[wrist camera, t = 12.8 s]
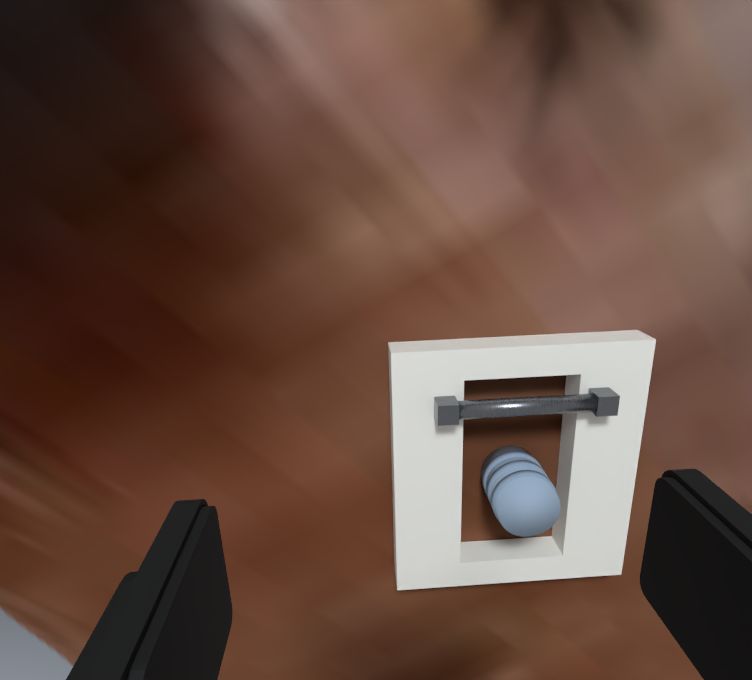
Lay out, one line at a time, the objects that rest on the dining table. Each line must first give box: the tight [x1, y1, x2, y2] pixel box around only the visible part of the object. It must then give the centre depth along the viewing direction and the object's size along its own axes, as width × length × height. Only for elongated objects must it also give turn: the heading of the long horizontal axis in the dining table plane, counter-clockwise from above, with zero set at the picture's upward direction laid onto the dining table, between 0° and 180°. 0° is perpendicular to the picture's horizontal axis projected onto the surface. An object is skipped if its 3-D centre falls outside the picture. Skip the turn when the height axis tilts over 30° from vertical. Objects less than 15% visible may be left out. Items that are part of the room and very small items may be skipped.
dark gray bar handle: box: [434, 387, 620, 426], centre depth 38 cm, size 14×2×2 cm, turn 92°
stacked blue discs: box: [481, 446, 561, 537], centre depth 41 cm, size 5×5×6 cm
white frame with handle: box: [388, 330, 656, 590], centre depth 42 cm, size 20×22×2 cm
